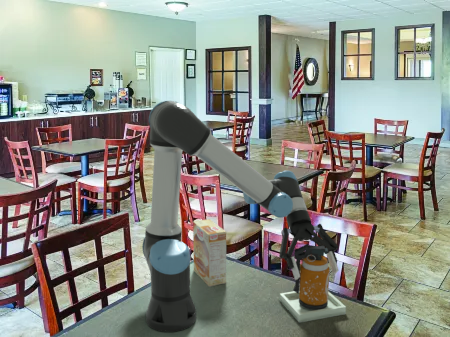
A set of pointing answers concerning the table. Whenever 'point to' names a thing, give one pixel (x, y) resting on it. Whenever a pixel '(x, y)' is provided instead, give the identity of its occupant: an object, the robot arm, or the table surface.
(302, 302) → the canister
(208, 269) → the coffeecake box
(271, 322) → the table surface
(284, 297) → the tray
